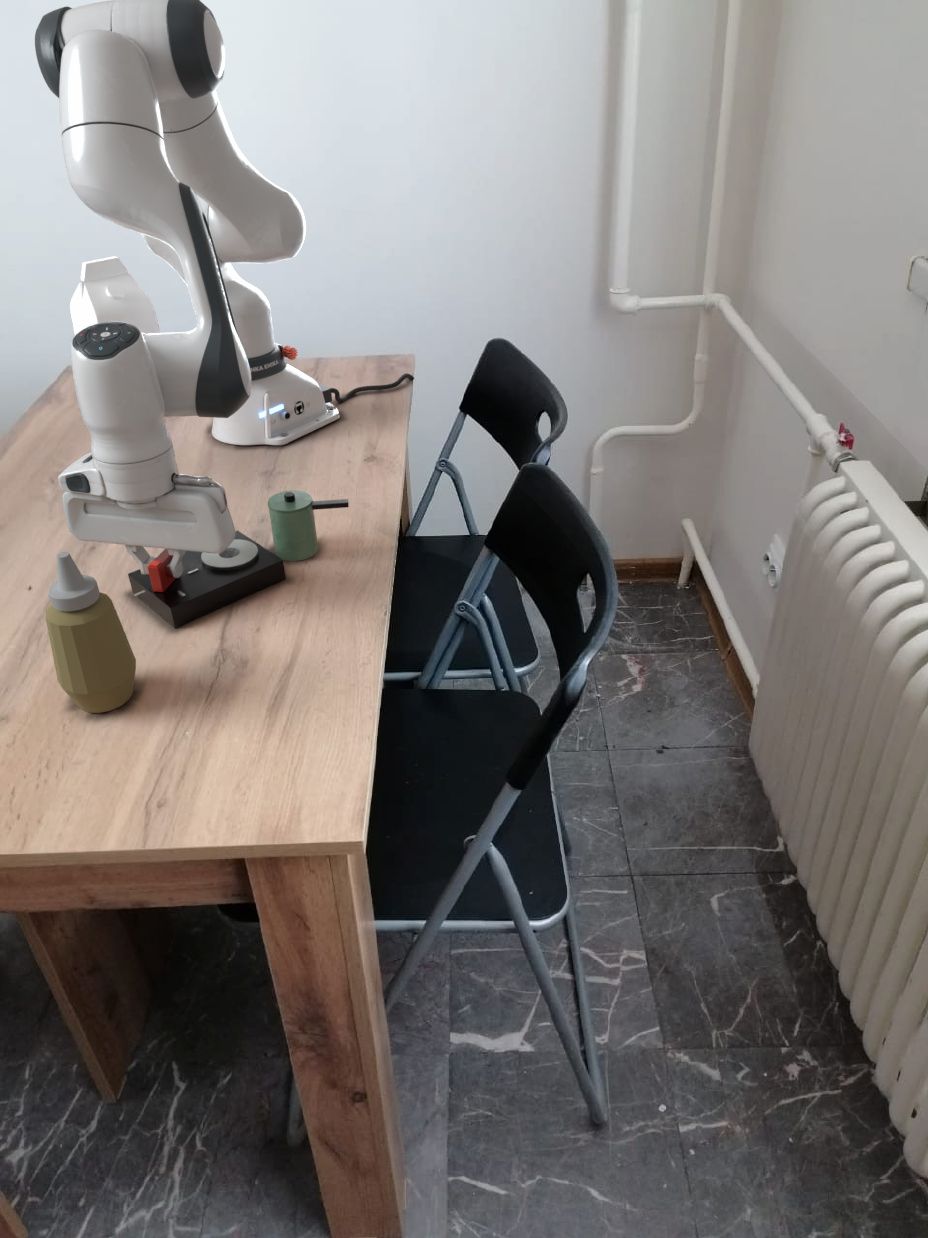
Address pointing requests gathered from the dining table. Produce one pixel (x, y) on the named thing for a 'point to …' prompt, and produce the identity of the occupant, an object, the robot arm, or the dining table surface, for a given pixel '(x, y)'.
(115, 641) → the squeeze bottle
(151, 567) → the knob
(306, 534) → the saucepan
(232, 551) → the burner
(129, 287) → the milk
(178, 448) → the dining table surface
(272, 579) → the hob
